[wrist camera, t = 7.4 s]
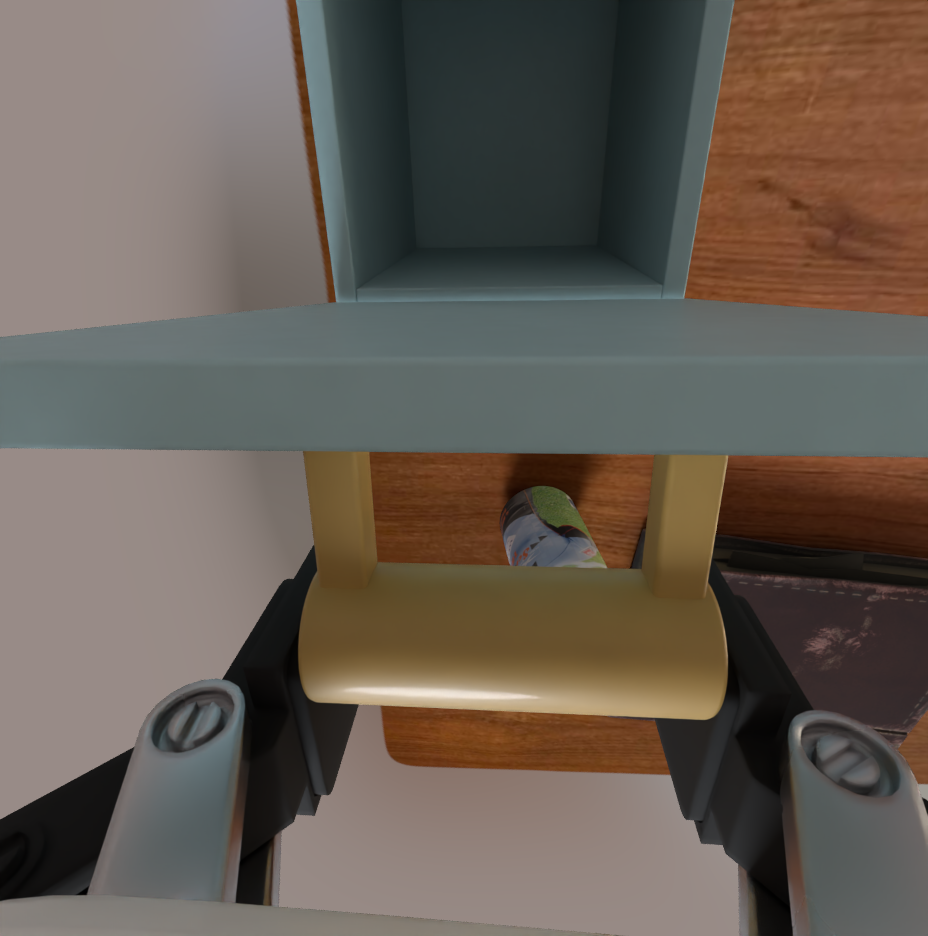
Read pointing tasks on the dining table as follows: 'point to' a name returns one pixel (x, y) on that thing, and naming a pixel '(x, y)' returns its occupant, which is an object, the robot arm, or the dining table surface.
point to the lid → (494, 431)
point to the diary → (838, 624)
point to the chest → (512, 144)
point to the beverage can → (547, 531)
